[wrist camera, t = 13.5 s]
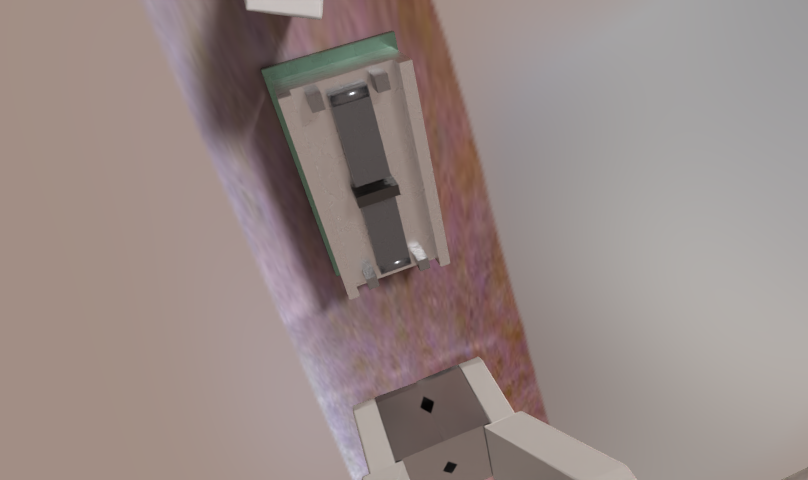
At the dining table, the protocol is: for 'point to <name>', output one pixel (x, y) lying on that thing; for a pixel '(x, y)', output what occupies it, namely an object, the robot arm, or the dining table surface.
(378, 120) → the fuse holder
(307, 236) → the dining table surface
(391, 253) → the strap
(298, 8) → the skincare box
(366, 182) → the strap
